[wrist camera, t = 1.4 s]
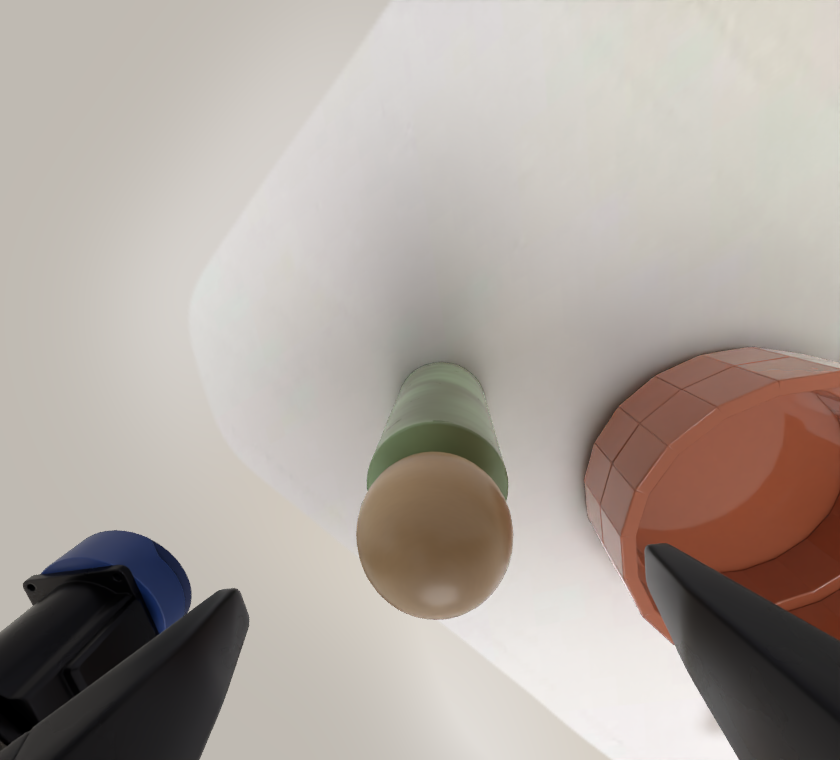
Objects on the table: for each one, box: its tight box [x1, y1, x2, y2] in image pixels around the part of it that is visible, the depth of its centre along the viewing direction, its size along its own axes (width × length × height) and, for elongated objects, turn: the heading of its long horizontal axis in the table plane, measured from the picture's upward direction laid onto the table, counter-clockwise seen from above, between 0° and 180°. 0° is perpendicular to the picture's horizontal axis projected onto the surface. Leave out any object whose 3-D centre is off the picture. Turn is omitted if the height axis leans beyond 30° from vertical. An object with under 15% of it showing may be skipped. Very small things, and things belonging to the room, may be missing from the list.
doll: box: [356, 362, 513, 620], centre depth 14 cm, size 4×4×12 cm
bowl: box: [584, 347, 840, 645], centre depth 17 cm, size 13×13×5 cm
